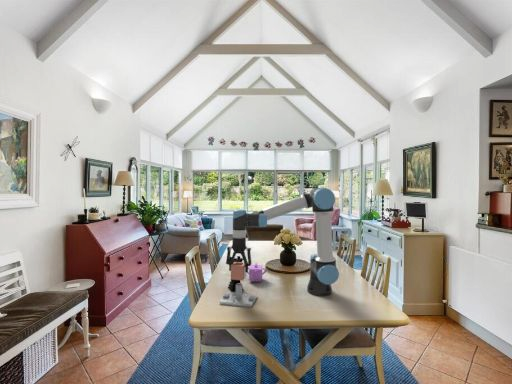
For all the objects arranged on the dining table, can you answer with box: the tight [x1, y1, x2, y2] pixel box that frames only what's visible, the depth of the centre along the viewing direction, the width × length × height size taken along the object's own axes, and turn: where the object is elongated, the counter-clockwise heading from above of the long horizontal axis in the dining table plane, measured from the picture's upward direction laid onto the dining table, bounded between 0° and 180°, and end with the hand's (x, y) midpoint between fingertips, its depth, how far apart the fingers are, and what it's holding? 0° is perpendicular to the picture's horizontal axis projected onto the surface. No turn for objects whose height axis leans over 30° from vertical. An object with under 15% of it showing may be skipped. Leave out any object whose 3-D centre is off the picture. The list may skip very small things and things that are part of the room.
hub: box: [230, 261, 245, 281], centre depth 160 cm, size 7×7×8 cm
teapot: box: [246, 262, 268, 283], centre depth 195 cm, size 15×13×11 cm
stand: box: [219, 282, 258, 308], centre depth 160 cm, size 18×14×10 cm
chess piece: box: [227, 255, 245, 293], centre depth 178 cm, size 8×8×20 cm
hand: (238, 277), depth 160 cm, fingers closed on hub, 7 cm apart
